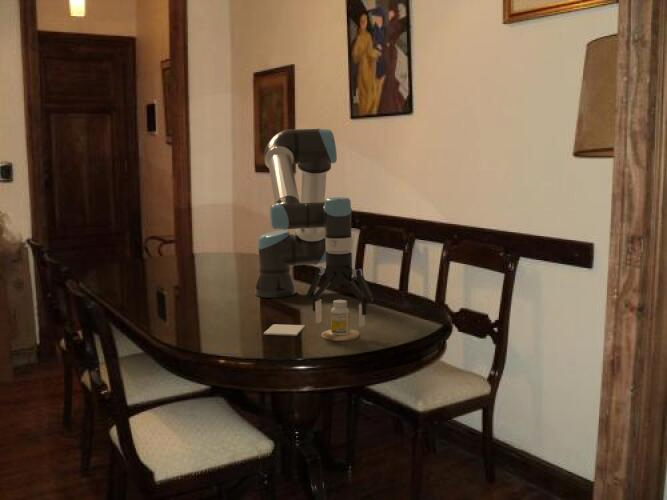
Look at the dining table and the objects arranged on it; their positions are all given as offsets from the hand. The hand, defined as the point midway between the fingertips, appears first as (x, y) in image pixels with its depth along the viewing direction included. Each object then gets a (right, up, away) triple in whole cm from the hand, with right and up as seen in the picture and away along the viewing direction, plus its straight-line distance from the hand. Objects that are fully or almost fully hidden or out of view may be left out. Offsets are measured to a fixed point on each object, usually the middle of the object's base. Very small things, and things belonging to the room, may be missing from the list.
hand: (340, 324), depth 201 cm
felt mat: (-17, -3, +7) cm, 18 cm away
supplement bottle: (0, -3, +1) cm, 3 cm away
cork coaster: (0, -3, 0) cm, 3 cm away
